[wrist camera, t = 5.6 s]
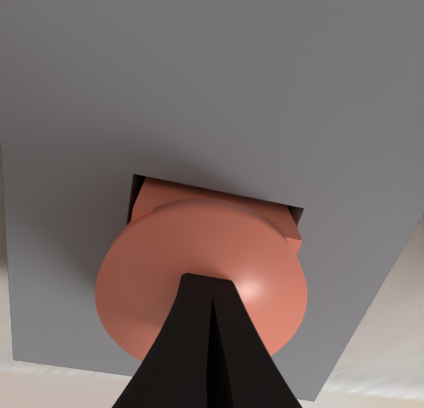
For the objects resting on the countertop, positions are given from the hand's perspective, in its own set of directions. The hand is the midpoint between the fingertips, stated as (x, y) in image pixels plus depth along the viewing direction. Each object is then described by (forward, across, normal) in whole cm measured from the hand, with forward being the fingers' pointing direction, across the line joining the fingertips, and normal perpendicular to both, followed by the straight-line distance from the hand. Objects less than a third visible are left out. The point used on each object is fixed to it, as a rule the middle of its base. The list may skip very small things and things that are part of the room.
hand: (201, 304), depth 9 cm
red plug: (+5, 0, 0) cm, 5 cm away
